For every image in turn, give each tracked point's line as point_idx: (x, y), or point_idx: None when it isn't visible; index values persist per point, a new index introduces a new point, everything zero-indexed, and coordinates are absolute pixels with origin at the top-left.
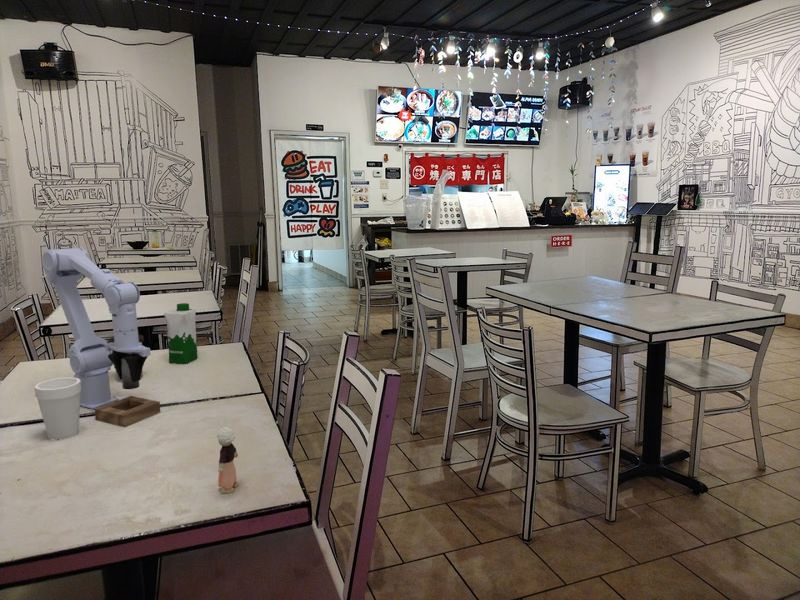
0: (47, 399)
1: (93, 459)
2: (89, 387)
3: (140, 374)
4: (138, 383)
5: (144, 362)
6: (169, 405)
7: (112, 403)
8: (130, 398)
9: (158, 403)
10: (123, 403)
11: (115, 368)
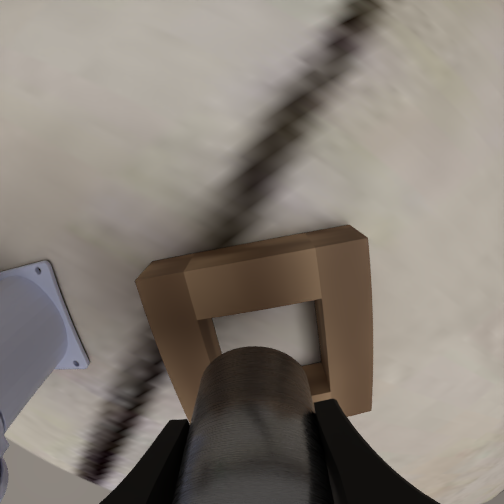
0: None
1: (435, 460)
2: (27, 401)
3: (352, 430)
4: (302, 380)
5: (429, 497)
6: (297, 139)
7: (184, 383)
8: (177, 305)
9: (367, 245)
10: (206, 348)
11: None
